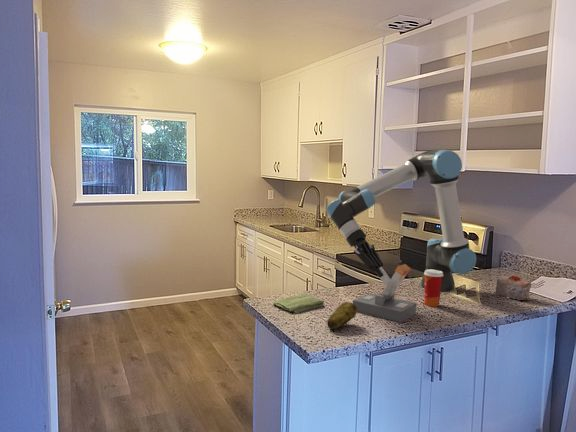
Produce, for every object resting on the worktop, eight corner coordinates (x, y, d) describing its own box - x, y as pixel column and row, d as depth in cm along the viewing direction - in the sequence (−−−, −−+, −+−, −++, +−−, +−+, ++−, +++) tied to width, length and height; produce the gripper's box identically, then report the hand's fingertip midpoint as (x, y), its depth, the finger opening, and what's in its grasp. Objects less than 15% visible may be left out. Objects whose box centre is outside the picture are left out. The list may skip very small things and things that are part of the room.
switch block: (352, 310, 178) (353, 291, 177) (369, 302, 189) (370, 284, 188) (400, 322, 166) (401, 302, 165) (415, 313, 177) (417, 294, 176)
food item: (532, 300, 199) (534, 278, 198) (523, 303, 194) (526, 280, 193) (501, 292, 210) (503, 271, 209) (492, 295, 205) (494, 273, 204)
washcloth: (271, 306, 181) (271, 298, 181) (304, 299, 192) (304, 291, 192) (292, 315, 171) (292, 307, 171) (326, 307, 182) (326, 299, 182)
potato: (318, 325, 161) (319, 302, 160) (349, 320, 167) (350, 298, 166) (331, 333, 153) (332, 310, 152) (362, 327, 159) (364, 305, 158)
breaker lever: (376, 299, 175) (397, 266, 169) (384, 295, 180) (404, 263, 174) (382, 304, 174) (404, 271, 168) (390, 300, 179) (411, 268, 173)
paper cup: (427, 300, 194) (429, 268, 192) (444, 305, 188) (447, 271, 187) (418, 304, 188) (420, 270, 187) (435, 308, 183) (437, 274, 181)
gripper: (355, 237, 190) (388, 285, 182) (338, 241, 180) (373, 291, 172) (367, 226, 186) (402, 274, 178) (351, 229, 176) (387, 280, 168)
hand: (388, 282), depth 175 cm, fingers closed
